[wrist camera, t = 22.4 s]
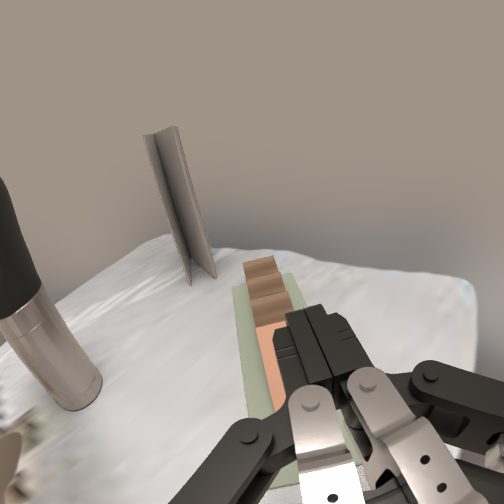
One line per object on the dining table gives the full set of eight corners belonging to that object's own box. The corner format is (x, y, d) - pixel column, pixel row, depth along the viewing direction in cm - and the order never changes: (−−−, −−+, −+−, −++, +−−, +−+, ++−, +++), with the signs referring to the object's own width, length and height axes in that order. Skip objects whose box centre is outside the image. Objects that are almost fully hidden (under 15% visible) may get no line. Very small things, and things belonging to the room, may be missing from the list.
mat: (373, 459, 19) (374, 457, 19) (260, 490, 19) (259, 489, 19) (291, 274, 52) (291, 272, 51) (232, 289, 51) (231, 287, 51)
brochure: (216, 278, 56) (173, 125, 43) (190, 286, 55) (142, 135, 42) (211, 249, 69) (177, 127, 55) (189, 255, 68) (153, 134, 55)
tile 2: (312, 371, 29) (287, 290, 36) (268, 382, 29) (249, 300, 36) (311, 375, 31) (288, 298, 38) (270, 386, 30) (251, 307, 37)
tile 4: (292, 316, 38) (273, 255, 45) (256, 324, 38) (242, 262, 45) (292, 322, 40) (274, 263, 47) (258, 330, 39) (244, 270, 47)
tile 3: (301, 341, 33) (280, 271, 41) (261, 351, 33) (245, 279, 40) (301, 346, 35) (280, 279, 42) (263, 356, 35) (247, 287, 42)
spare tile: (326, 408, 24) (298, 317, 31) (277, 421, 24) (255, 327, 31) (324, 410, 26) (298, 324, 33) (278, 423, 26) (257, 334, 33)
